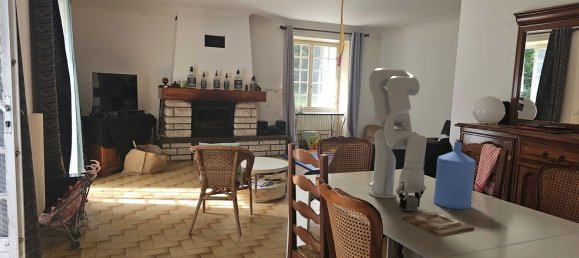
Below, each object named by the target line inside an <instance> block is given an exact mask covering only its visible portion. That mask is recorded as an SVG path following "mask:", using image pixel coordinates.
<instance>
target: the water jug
mask: <svg viewBox="0 0 579 258" xmlns="http://www.w3.org/2000/svg"><path fill="white" fill-rule="evenodd" d="M453 143H454V145H453V151H451V152H447V153H445V154H442V155H439V156H438V157H437V162H436V175H435V182H434V183H435V185H434V193H433V202H434V203H435V204H436V205H438V206H440V207H442V208H447V209H451V210H452V209H453V210H459V211H460V210H461V211H462V210H468V209H470V208H471V207H472V205H473V204H472V203H473V201H472V196H473V189H474V180H475V179H474V178H475V171H476V160H475V159H474V158H472V157H471V156H468V155H467V154H465V153H463V152H462V148H463V147H462V145H463V143H462V142H459V141H457V142H455V141H454V142H453Z"/></svg>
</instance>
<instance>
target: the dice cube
mask: <svg viewBox="0 0 579 258" xmlns="http://www.w3.org/2000/svg"><path fill="white" fill-rule="evenodd" d="M406 200H407V203H406V209H403V210H404V211H407V212H408V211H409V212H418V208H419V207H418V198H416V197H415V194H414V195H413V194H408V195H407V197H406Z"/></svg>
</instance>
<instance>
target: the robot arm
mask: <svg viewBox="0 0 579 258" xmlns="http://www.w3.org/2000/svg"><path fill="white" fill-rule="evenodd" d="M368 80H369V81H368V82H369V84H368V86H369V89H370V93H371V95H372V98H373V106H374V115H375V121H376V124H377V126H381V127H383V128H380V129H378V130H377V131H375V134H374V145H375V146H374V148H375V150H374V151H375V152H374V153H375V154H374V169H373V178H372V179H373V181H372V182H371V183H369V184H368V186H369V187H371V189H370V190H369V191H368V193H369V195H370V196H372V197H374V198H375V197H376V198H380V199H394V198H396V197H397V196H398V198H399V205H398V206H399V208H400V209H402V210H404V209H406V203H407V200H406V197H407V195H409V194H414V196H415V197H416V198H418V208H419V207H420V203H421V198H422V197H423V196H422V195H424V192H425V191H426V189H427V186H426V185H425V170H424V167H425V158H426V157H425V156H426V149H427V137H426V136H424V135H421V134H419V133H417V132H416V131H412V123H411V115H410V113H409V112H410V111H411V109H412V106H411V102H410V101H411V100H410V97H411V96H413V97H414V96H416V95H418V94H419V92H420V88H421V86H420V83H419V82H420V81H419V80H418V79H417V77H416V76H414V75H413V74H412V73H411V72H409V71H407V70H406V69H400V68H398V69H397V68H388V67H387V68H385V67H380V68H375V69H374V70H372V71H371V73H370V75H369V79H368ZM385 87H386V88H385ZM393 150H405V155H404V163H403V164H404V165H403V167H402V169H401V172H400V174H399V179H398V185H397V186H398V187H397V188H396V189H395V191H394V186H395V176H396V175H395V174H396V163H397V159H396V156H395V154H394V152H393Z"/></svg>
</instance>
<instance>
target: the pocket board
mask: <svg viewBox="0 0 579 258" xmlns="http://www.w3.org/2000/svg"><path fill="white" fill-rule="evenodd" d="M402 220H404V221H406V222H408V223H411V224H412V225H414V224H415V225H414V226H417V227H419V228H421V227H422V228H421V229H423V228H424V230H425V229H426V230H425V231H427V230H428V232H429V231H430V233H432V234H433V235H436V236H438V237H442V236H443V237H444V236H447V235H453V234H458V233H463V232H468V231H473V230H475V226H473V225H471V224H469V223H465V222H463V221H461V220H457V219H455V218H453V217H451V216H448V215H445V214H443V213H440V212H438V211H431V212H425V213H424V212H423V213H416V214H411V215H404V216H402Z"/></svg>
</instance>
